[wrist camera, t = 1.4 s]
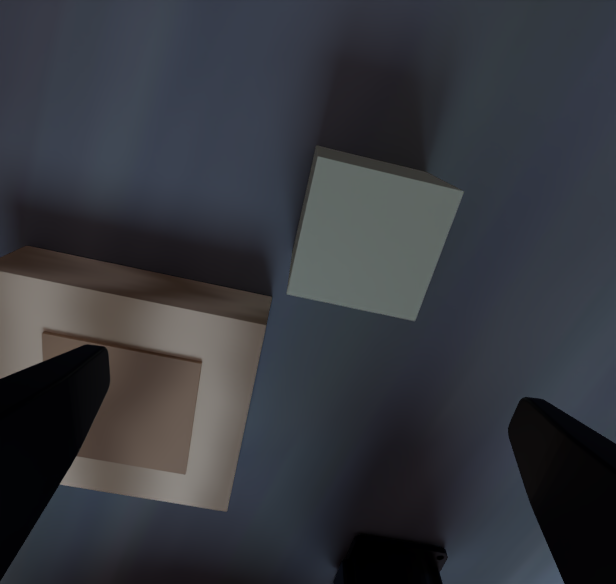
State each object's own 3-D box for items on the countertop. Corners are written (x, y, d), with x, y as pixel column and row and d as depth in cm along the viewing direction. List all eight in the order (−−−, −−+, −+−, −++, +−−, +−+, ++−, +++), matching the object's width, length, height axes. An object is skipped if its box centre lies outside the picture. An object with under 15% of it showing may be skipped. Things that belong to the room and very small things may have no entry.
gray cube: (425, 171, 18) (463, 191, 14) (391, 273, 20) (415, 321, 15) (316, 145, 18) (317, 156, 13) (292, 251, 20) (286, 294, 15)
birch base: (272, 296, 20) (265, 327, 18) (236, 468, 25) (226, 515, 22) (26, 245, 19) (-24, 268, 17) (37, 434, 24) (-1, 478, 21)
